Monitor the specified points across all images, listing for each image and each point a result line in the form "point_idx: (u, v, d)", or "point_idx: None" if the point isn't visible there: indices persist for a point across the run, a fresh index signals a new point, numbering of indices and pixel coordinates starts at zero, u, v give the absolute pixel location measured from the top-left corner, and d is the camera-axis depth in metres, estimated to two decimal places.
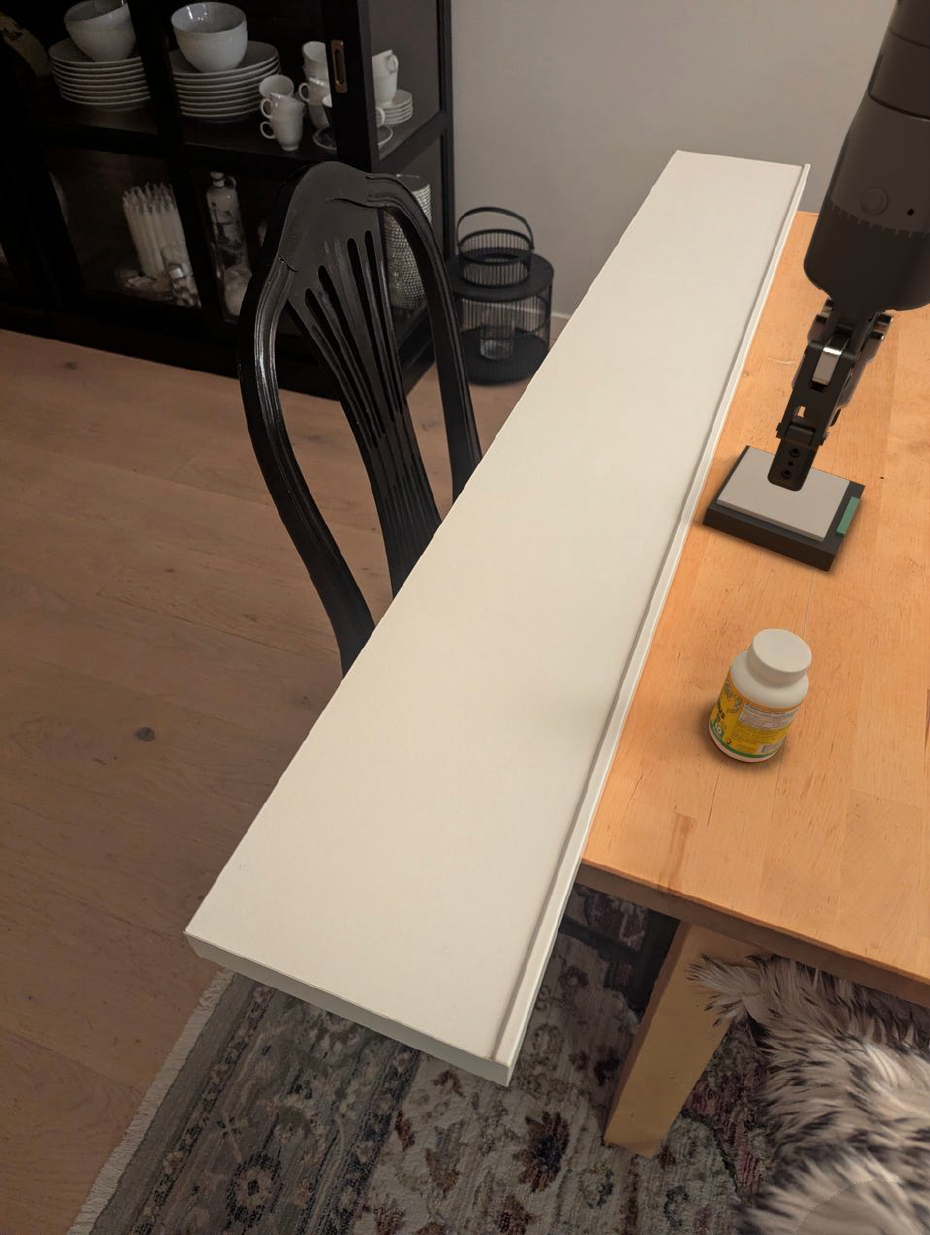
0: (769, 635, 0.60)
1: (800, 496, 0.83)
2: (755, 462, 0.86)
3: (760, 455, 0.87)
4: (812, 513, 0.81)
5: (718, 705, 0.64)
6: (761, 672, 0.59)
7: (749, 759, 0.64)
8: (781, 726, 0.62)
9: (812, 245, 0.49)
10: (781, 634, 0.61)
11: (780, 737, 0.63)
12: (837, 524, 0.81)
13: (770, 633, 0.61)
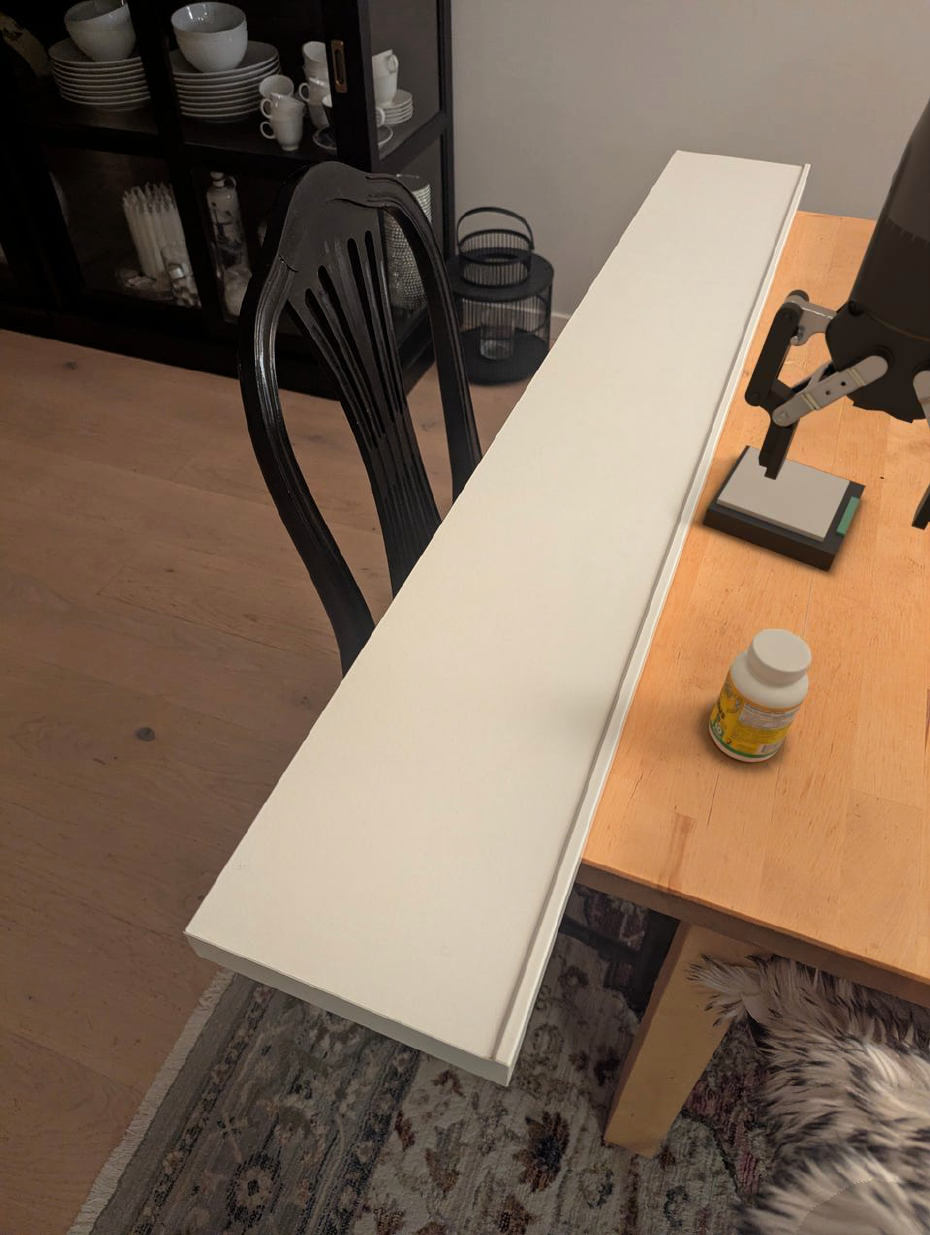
0: (769, 635, 0.60)
1: (800, 496, 0.83)
2: (755, 462, 0.86)
3: None
4: (812, 513, 0.81)
5: (718, 705, 0.64)
6: (761, 672, 0.59)
7: (749, 759, 0.64)
8: (781, 726, 0.62)
9: None
10: (781, 634, 0.61)
11: (780, 737, 0.63)
12: (837, 524, 0.81)
13: (770, 633, 0.61)
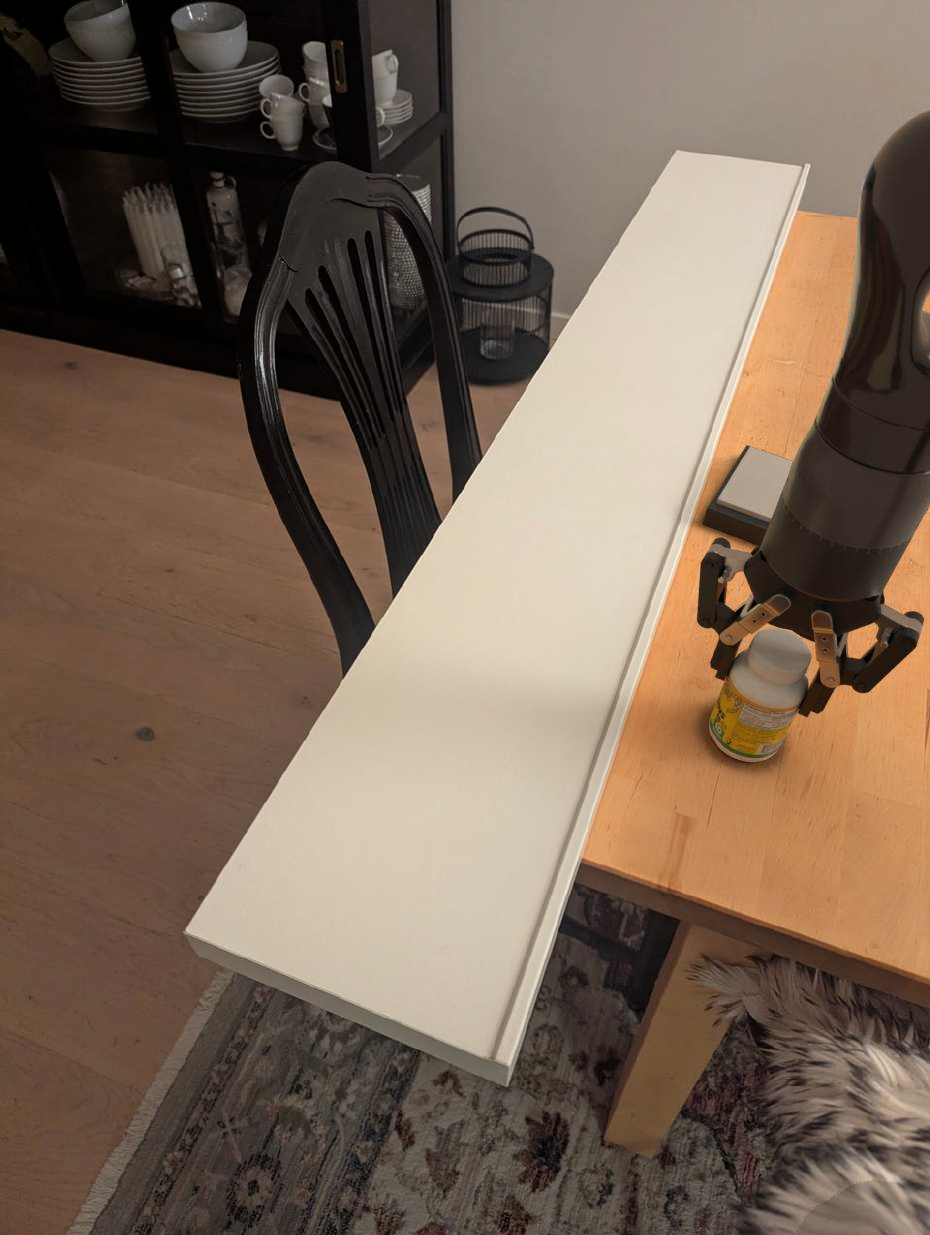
0: (769, 635, 0.60)
1: None
2: (755, 462, 0.86)
3: (760, 455, 0.87)
4: None
5: (718, 705, 0.64)
6: (761, 672, 0.59)
7: (749, 759, 0.64)
8: (781, 726, 0.62)
9: None
10: (781, 634, 0.61)
11: (780, 737, 0.63)
12: None
13: (770, 633, 0.61)
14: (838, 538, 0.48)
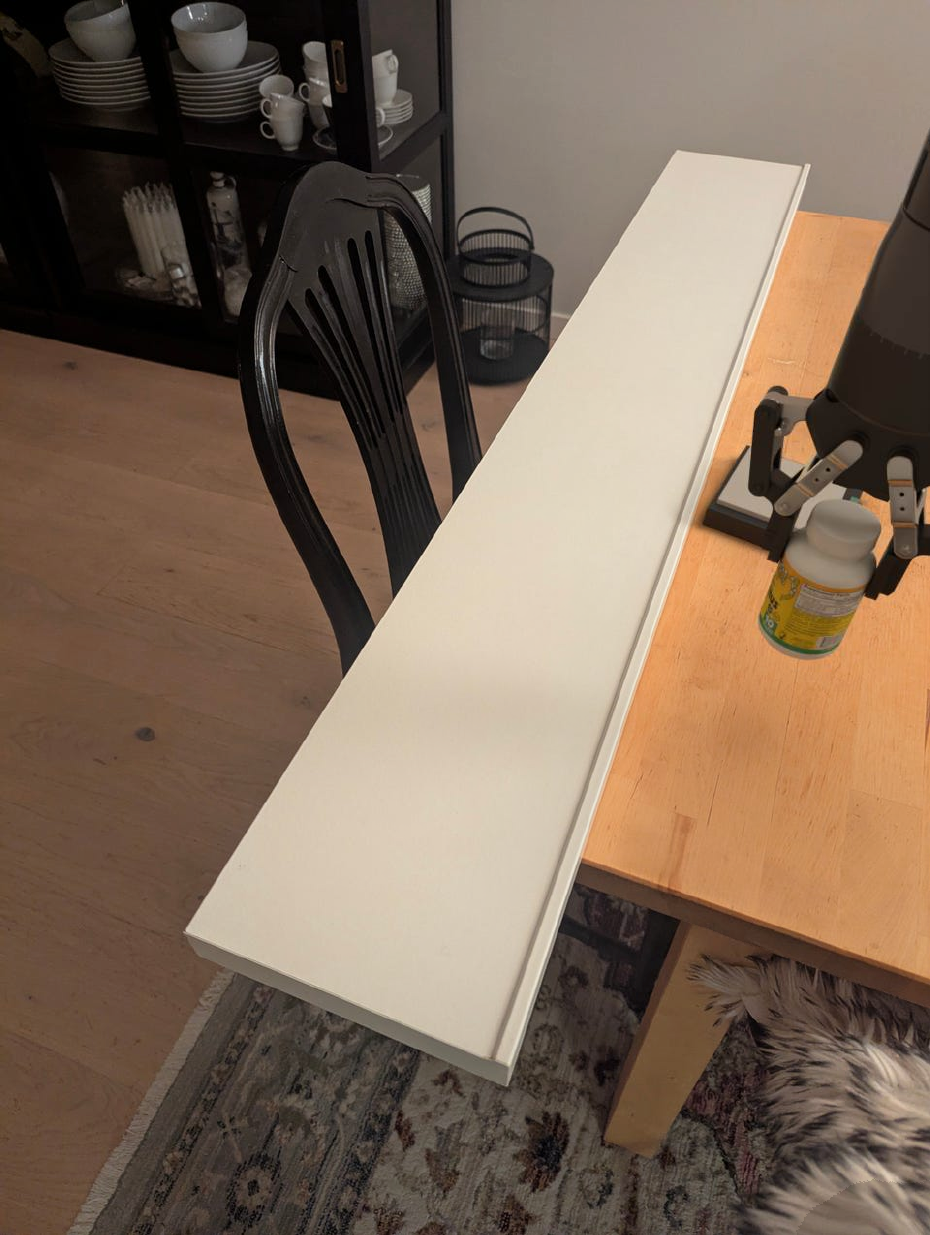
0: (831, 505, 0.52)
1: None
2: None
3: None
4: None
5: (770, 594, 0.56)
6: (823, 545, 0.51)
7: (806, 656, 0.56)
8: (845, 612, 0.54)
9: None
10: (845, 504, 0.53)
11: (842, 628, 0.55)
12: None
13: (832, 504, 0.53)
14: (928, 347, 0.40)
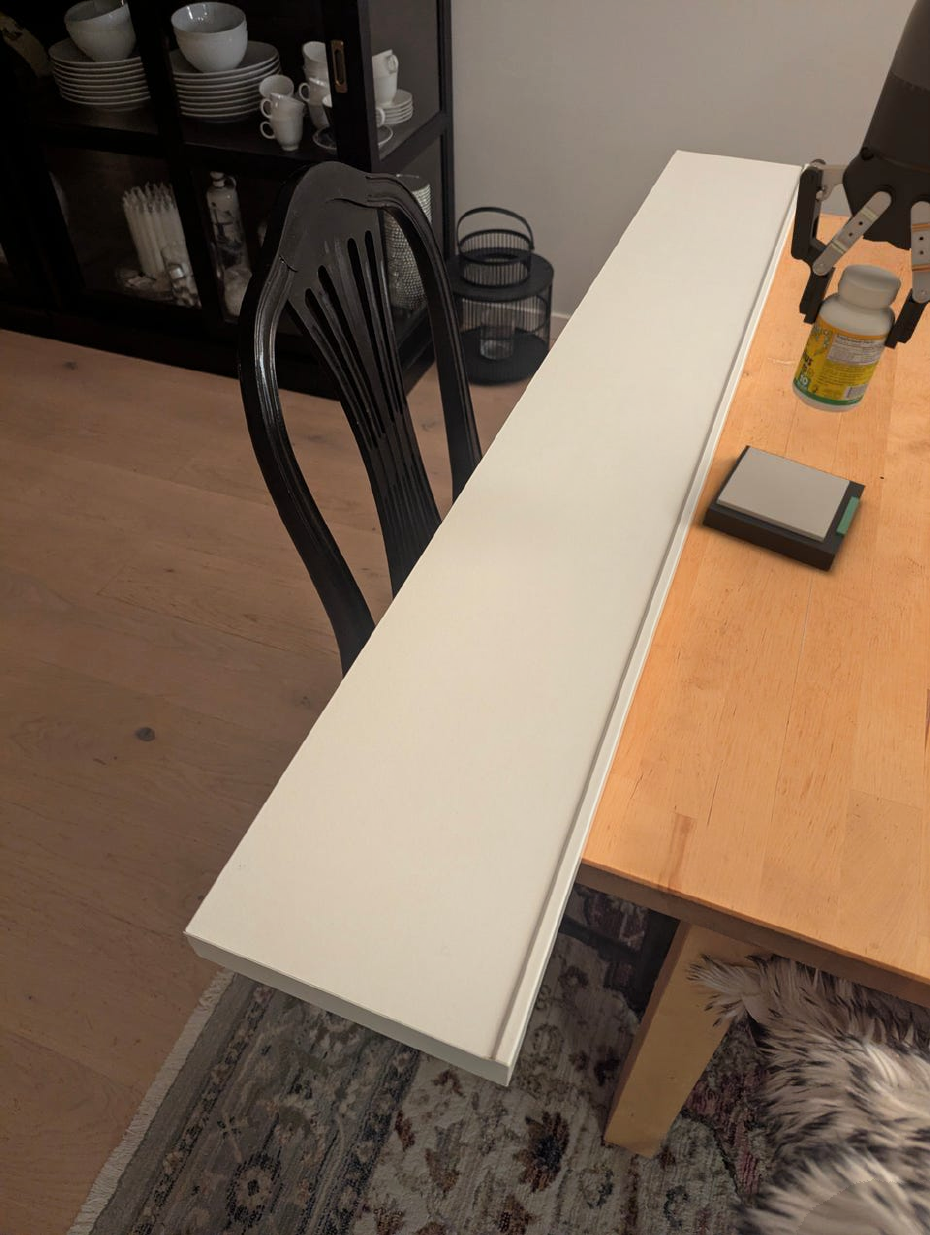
0: (858, 268, 0.63)
1: (800, 496, 0.83)
2: (755, 462, 0.86)
3: (760, 455, 0.87)
4: (812, 513, 0.81)
5: (804, 355, 0.67)
6: (853, 296, 0.62)
7: (834, 407, 0.67)
8: (869, 361, 0.64)
9: None
10: (870, 267, 0.63)
11: (865, 379, 0.66)
12: (837, 524, 0.81)
13: (859, 267, 0.63)
14: None
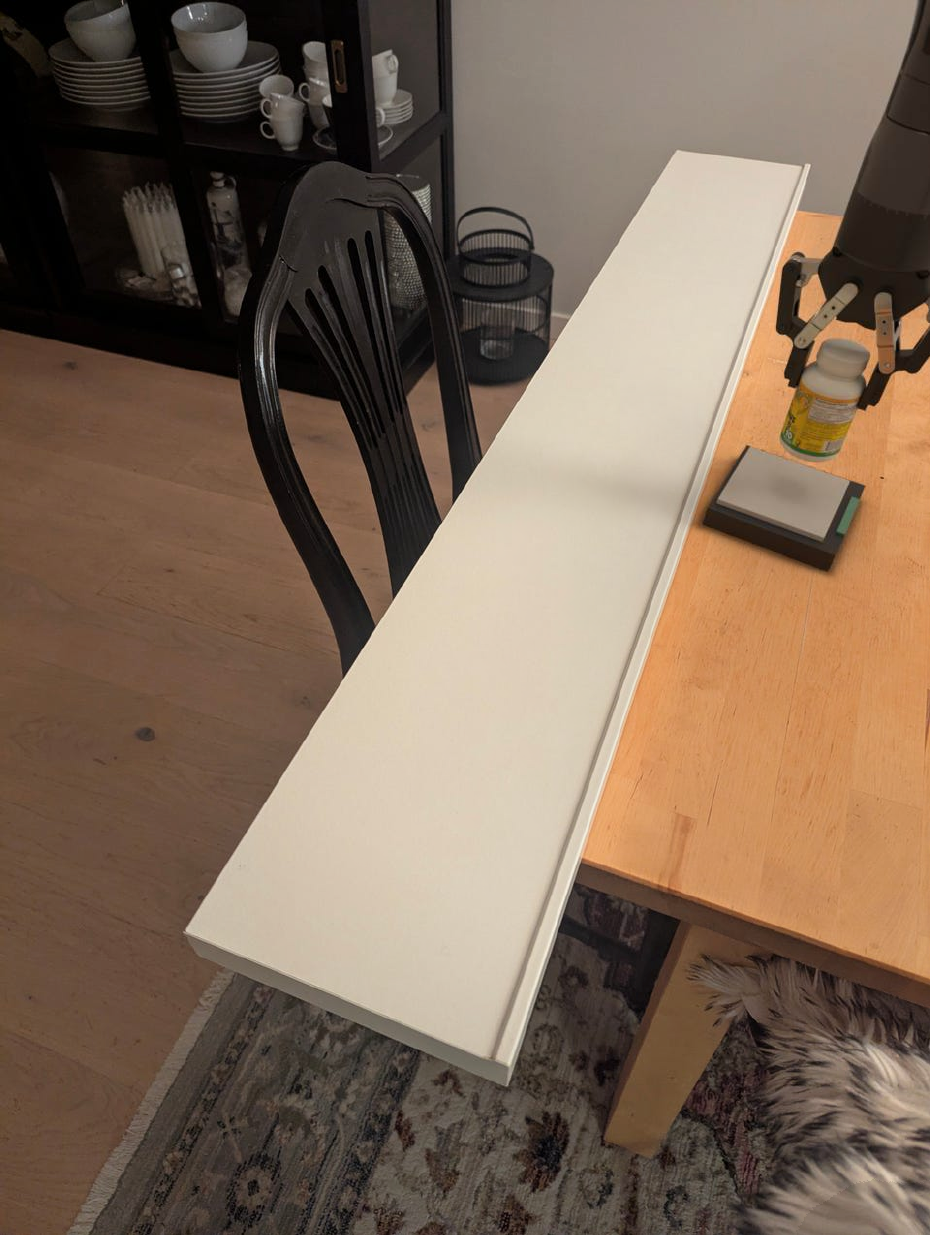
0: (834, 341, 0.74)
1: (800, 496, 0.83)
2: (755, 462, 0.86)
3: (760, 455, 0.87)
4: (812, 513, 0.81)
5: (789, 414, 0.77)
6: (829, 367, 0.72)
7: (815, 458, 0.77)
8: (843, 420, 0.75)
9: None
10: (844, 341, 0.74)
11: (841, 435, 0.76)
12: (837, 524, 0.81)
13: (835, 340, 0.74)
14: (902, 206, 0.61)
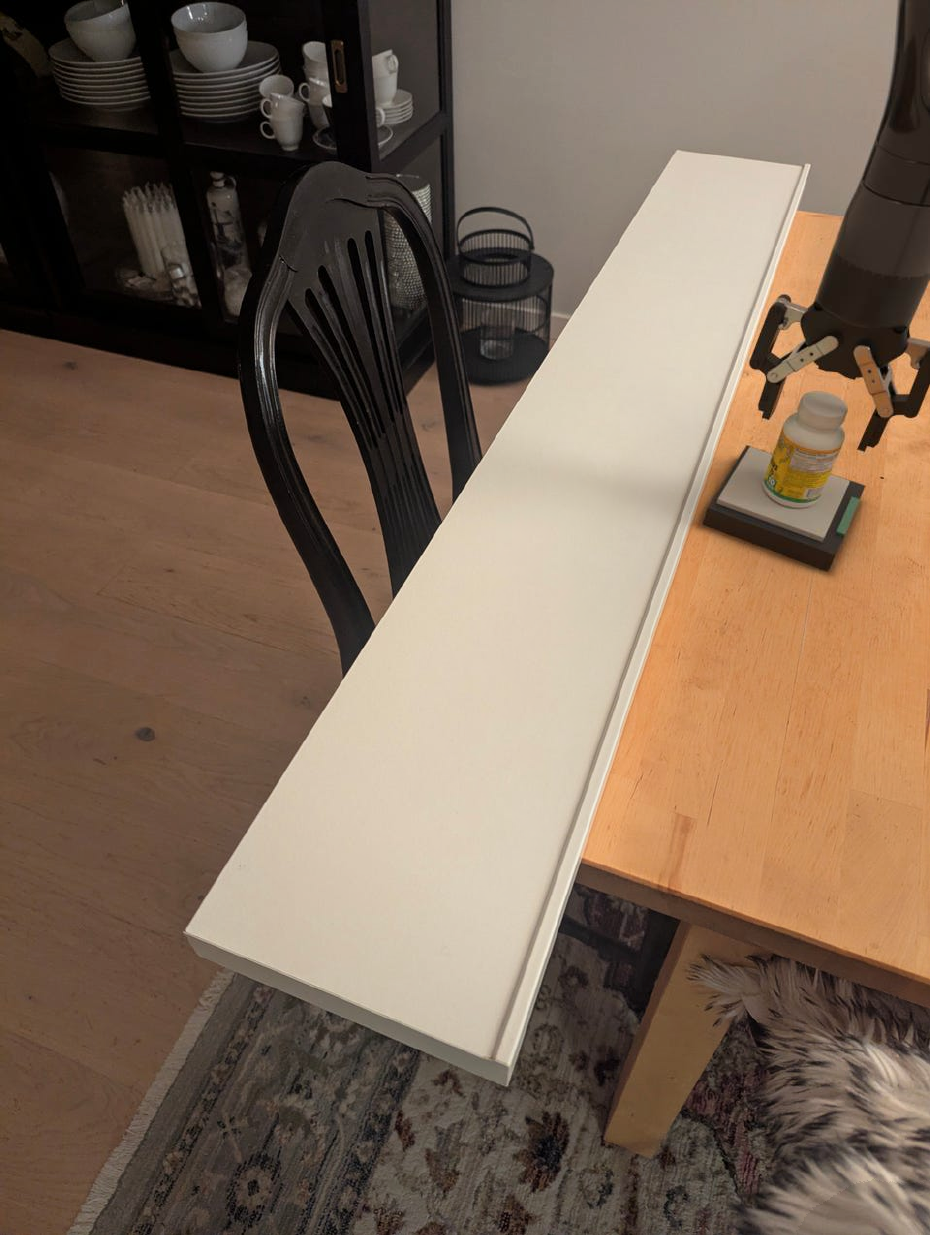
0: (814, 395, 0.77)
1: None
2: (755, 462, 0.86)
3: (760, 455, 0.87)
4: (812, 513, 0.81)
5: (772, 461, 0.81)
6: (809, 420, 0.76)
7: (796, 504, 0.81)
8: (823, 469, 0.78)
9: None
10: (823, 395, 0.77)
11: (821, 483, 0.80)
12: (837, 524, 0.81)
13: (815, 394, 0.77)
14: (877, 268, 0.65)
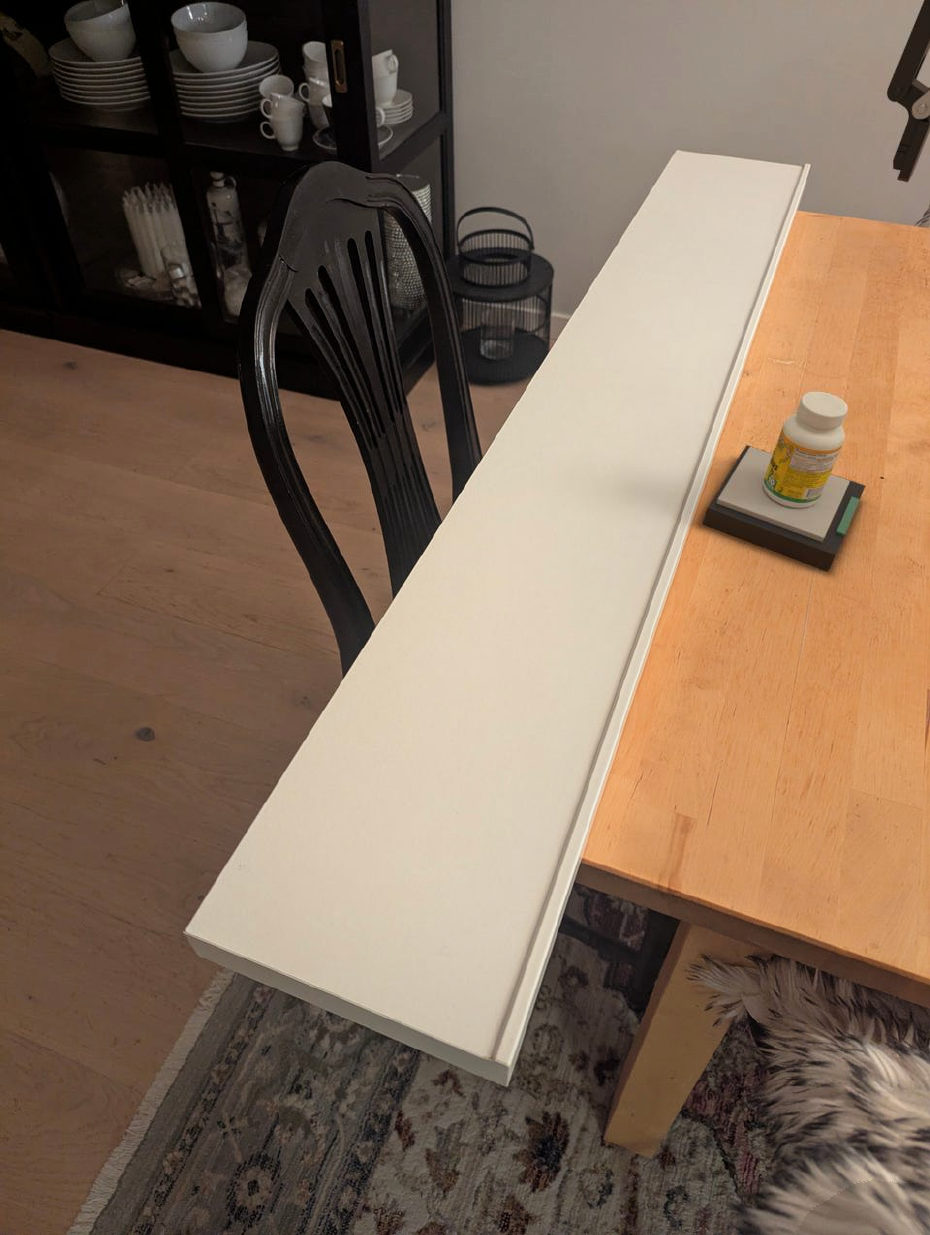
0: (814, 395, 0.77)
1: None
2: (755, 462, 0.86)
3: (760, 455, 0.87)
4: (812, 513, 0.81)
5: (772, 461, 0.81)
6: (809, 420, 0.76)
7: (796, 504, 0.81)
8: (823, 469, 0.78)
9: None
10: (823, 395, 0.77)
11: (821, 483, 0.80)
12: (837, 524, 0.81)
13: (815, 394, 0.77)
14: None
